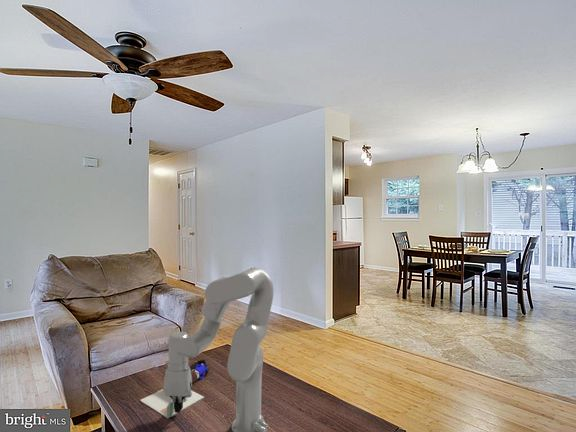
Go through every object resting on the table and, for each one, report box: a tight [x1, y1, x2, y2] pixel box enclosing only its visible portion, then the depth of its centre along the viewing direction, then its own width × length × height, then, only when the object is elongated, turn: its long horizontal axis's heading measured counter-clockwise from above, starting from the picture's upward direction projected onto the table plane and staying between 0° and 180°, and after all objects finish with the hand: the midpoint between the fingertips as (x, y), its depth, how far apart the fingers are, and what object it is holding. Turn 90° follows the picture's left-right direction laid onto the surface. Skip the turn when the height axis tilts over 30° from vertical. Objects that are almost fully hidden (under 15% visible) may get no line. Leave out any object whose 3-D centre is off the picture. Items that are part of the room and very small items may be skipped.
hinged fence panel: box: [167, 398, 186, 419], centre depth 135 cm, size 13×2×4 cm, turn 171°
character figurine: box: [188, 359, 212, 383], centre depth 160 cm, size 8×7×15 cm
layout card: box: [139, 389, 205, 419], centre depth 142 cm, size 20×18×1 cm
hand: (178, 410), depth 130 cm, fingers closed
